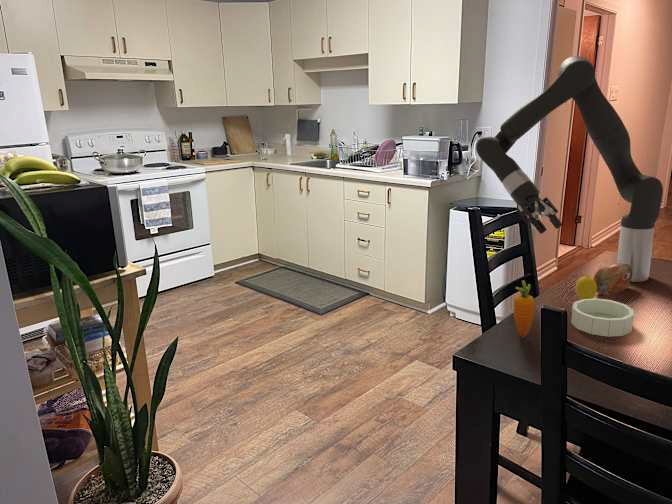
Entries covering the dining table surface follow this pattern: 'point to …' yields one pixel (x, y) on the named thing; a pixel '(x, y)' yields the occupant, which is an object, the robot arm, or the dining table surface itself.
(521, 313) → the carrot
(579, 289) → the lemon
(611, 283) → the tin
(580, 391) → the dining table surface
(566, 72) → the robot arm
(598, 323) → the bowl
